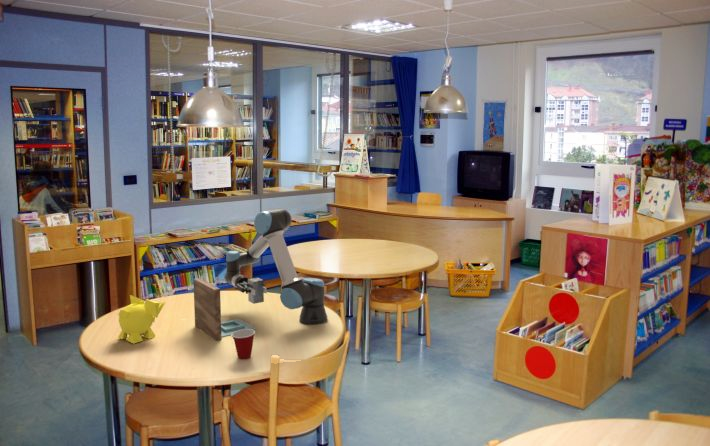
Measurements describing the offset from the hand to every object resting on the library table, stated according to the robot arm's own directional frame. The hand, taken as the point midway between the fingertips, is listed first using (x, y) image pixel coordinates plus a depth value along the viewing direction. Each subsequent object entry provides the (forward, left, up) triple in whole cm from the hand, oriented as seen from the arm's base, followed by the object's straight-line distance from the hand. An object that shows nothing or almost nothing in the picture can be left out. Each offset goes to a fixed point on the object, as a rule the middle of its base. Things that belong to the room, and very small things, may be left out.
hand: (260, 291), depth 323 cm
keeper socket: (+8, +14, -18) cm, 24 cm away
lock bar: (+5, -1, -6) cm, 8 cm away
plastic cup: (-27, +36, -18) cm, 49 cm away
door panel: (+12, +26, -18) cm, 34 cm away
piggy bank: (+34, +51, -18) cm, 64 cm away
